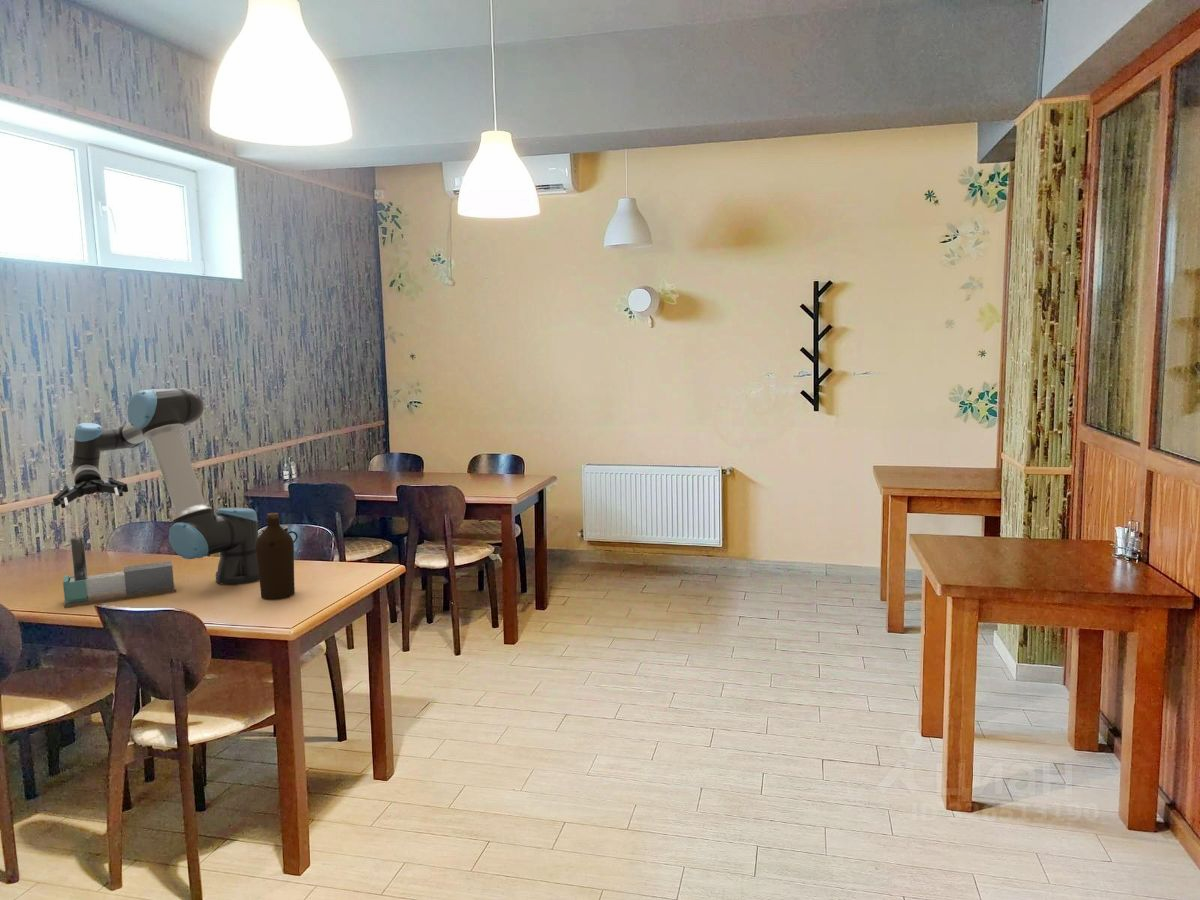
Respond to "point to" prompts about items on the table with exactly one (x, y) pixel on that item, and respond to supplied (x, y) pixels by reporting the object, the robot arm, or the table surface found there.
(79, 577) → the metal plate with post
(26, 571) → the table surface
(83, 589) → the teal bracket
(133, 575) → the base plate with blocks
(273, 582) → the olive oil
